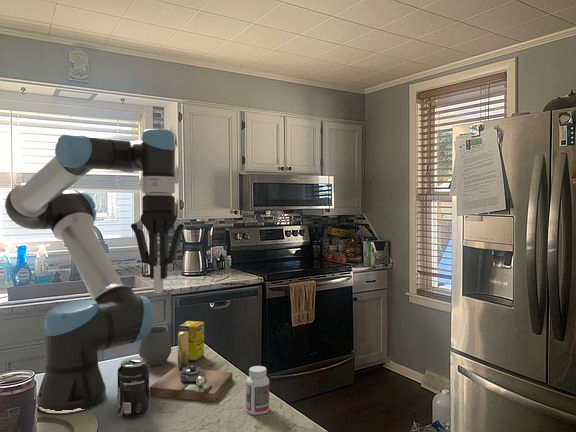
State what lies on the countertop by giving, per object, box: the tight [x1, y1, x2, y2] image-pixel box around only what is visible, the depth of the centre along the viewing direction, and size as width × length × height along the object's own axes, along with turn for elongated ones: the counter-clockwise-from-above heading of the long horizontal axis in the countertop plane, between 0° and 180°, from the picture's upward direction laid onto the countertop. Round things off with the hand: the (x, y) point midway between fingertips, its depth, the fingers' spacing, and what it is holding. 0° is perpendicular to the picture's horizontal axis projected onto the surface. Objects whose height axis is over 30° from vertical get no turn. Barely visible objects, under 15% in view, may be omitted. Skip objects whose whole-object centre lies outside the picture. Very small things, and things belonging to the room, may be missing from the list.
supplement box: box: [178, 320, 205, 363], centre depth 141 cm, size 6×6×11 cm
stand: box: [149, 366, 233, 403], centre depth 120 cm, size 17×14×2 cm
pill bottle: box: [245, 365, 270, 416], centre depth 107 cm, size 5×5×10 cm
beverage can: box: [117, 357, 150, 420], centre depth 104 cm, size 7×7×12 cm
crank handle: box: [177, 331, 205, 387], centre depth 121 cm, size 18×6×10 cm, turn 29°
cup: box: [138, 326, 172, 367], centre depth 137 cm, size 10×9×10 cm
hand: (158, 292), depth 111 cm, fingers closed
